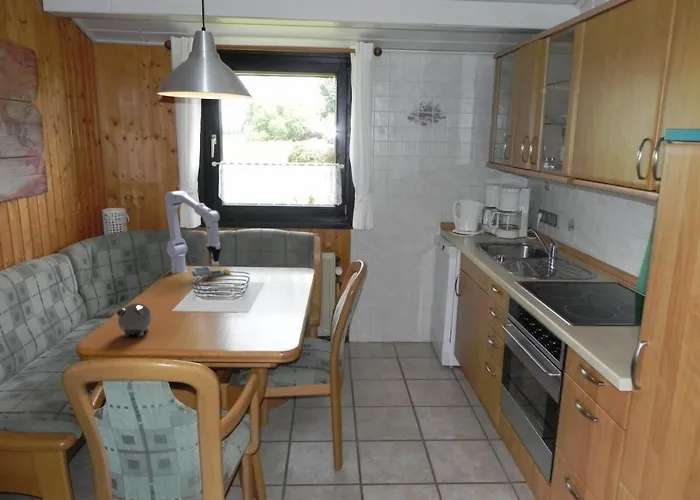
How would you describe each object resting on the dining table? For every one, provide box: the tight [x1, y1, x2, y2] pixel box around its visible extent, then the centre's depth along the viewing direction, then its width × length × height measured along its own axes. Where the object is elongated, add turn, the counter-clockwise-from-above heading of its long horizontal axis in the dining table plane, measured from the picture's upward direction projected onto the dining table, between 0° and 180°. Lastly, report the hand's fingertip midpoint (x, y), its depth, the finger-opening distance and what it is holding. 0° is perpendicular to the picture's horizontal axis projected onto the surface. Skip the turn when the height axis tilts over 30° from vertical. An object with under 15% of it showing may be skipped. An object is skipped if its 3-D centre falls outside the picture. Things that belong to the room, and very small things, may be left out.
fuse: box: [210, 253, 219, 267], centre depth 275 cm, size 3×3×7 cm
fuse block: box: [209, 268, 233, 279], centre depth 277 cm, size 8×10×3 cm
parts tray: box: [192, 266, 213, 277], centre depth 283 cm, size 10×8×2 cm
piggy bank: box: [116, 302, 153, 338], centre depth 195 cm, size 11×15×12 cm
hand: (215, 260), depth 275 cm, fingers closed on fuse, 3 cm apart
